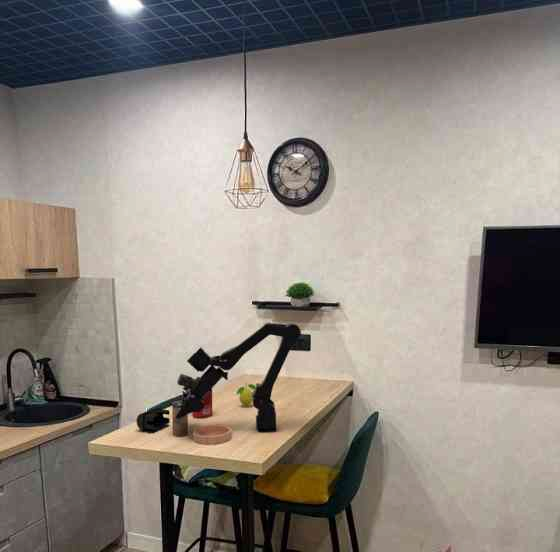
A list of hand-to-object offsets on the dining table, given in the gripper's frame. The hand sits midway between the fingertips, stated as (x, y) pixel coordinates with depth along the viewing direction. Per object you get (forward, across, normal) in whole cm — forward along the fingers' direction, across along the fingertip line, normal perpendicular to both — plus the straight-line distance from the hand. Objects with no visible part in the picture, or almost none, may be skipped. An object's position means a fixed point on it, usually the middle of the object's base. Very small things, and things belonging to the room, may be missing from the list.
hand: (176, 415), depth 164 cm
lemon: (-17, -27, +26) cm, 41 cm away
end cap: (+10, -9, 0) cm, 14 cm away
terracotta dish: (-3, +8, +13) cm, 15 cm away
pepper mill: (+4, 0, +6) cm, 7 cm away
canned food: (-3, -20, +13) cm, 24 cm away
